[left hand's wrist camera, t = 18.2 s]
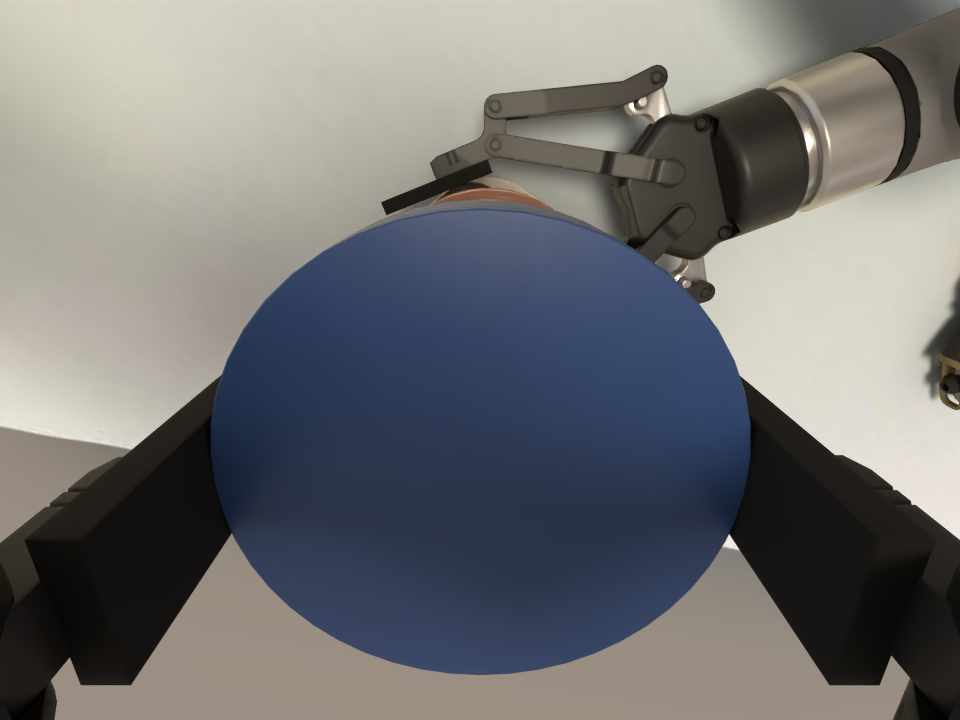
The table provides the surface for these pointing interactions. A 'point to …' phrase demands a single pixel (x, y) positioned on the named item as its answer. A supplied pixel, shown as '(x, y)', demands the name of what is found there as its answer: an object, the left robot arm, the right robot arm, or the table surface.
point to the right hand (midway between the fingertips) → (422, 287)
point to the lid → (480, 439)
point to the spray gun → (950, 373)
